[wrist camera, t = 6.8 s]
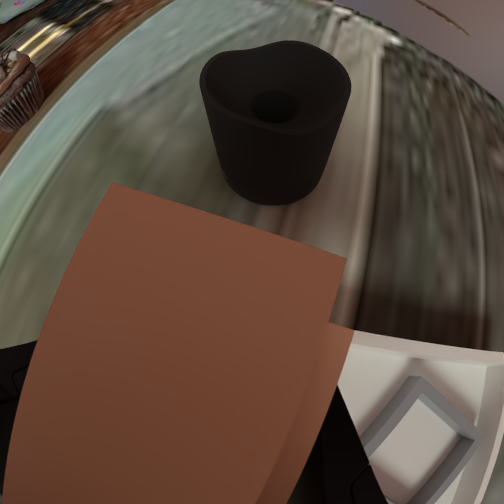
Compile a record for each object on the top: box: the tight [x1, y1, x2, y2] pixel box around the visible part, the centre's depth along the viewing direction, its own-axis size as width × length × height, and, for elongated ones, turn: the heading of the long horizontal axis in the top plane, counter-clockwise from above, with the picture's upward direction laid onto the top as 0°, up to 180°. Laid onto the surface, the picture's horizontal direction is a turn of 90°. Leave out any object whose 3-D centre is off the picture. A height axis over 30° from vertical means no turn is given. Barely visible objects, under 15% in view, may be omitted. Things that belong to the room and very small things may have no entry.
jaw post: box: [2, 183, 355, 504], centre depth 8 cm, size 4×4×13 cm
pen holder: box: [200, 41, 351, 205], centre depth 22 cm, size 9×9×10 cm
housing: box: [337, 330, 504, 504], centre depth 16 cm, size 18×18×4 cm
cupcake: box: [0, 49, 44, 132], centre depth 27 cm, size 10×10×10 cm
